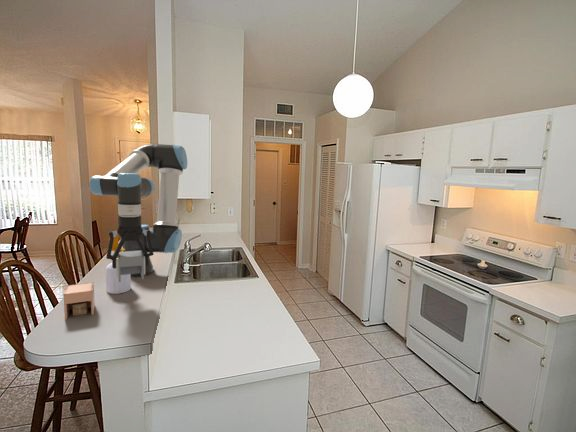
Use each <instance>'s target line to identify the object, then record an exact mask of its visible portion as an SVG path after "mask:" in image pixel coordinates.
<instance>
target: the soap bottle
mask: <svg viewBox="0 0 576 432" xmlns="http://www.w3.org/2000/svg"><path fill="white" fill-rule="evenodd" d="M119 237H120V236H119V234H116V237H114V241H113V246H112V251H111V252H113V253H114V252H115V250H116V248H117V246H118V244H119ZM109 240H110V236H109V235H108V241H109ZM124 250H125V249H124V248H123V247H122V248H121V250H120V252H123V251H124ZM117 258H118V256H117ZM131 280H132V279H131V274H127V275H121V282H119V278H116V268H114V269H113V267H112V262H111V263H109V264H108V265H107V266H106V268H105V288H106V289H105V291H106V293H108V294H110V295H111V294H112V295H116V294H117V295H119V294H124V293H126V292H129V291H130V290H131V287H132V283H131Z"/></svg>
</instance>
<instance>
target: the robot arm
mask: <svg viewBox="0 0 576 432" xmlns="http://www.w3.org/2000/svg"><path fill="white" fill-rule="evenodd" d="M147 168H157V171H158V172H159V173H160V180H159V183H160V184H159V196H158V205H157V219H156V221H155V222H154V223H153V224H152V227H150V225H149V224H142V216H141V215H142V198H147V197H149V196H151V195H152V194H153V193H154V191H155V184H154V182H153V181H152V180H151V179H149V178H148V177H142V176H141V175H140V172H141V171H142V170H145V169H147ZM187 168H188V155H187V152H186V149H185V147H183V146H182V145H177V144H160V143H158V144H157V143H149V144H145V145H141V146H140V147H137V148H134V149H133V150H132V151H131V152H130V153H129V154H128V157H126V158H125V159H124V160H123V161H122V162H120V163H119V164H117V165H116V166H114V167H113V168H111V170H109V171H108V172H107V173H106V174H104V175H93V176H91V178H90V179H89V181H88V186H89V191H90V192H91V193H92V194H93V195H94V196H95V195H96V196H103V197H104V196H105V197H106V196H111V197H117V209H118V210H117V213H118V217H117V219H118V220H117V221H118V222H117V223H118V227H117V230H114V231H113V230H109V231H108V237H109V236H110V240H109V239H108V245H107V251H106V260H111V263H112V267H113V269H114V268H116V278H119V272H118V258H117V256H118V254H119V252H120V250H121V248H124V249H125V250H124V251H122V252H125V251H140V250H142V252H143V255H144V276H146V275H149V274H152V273H153V272H154V266H153V265H154V264H153V263H152V260H151V256H154V253H163V254H164V253H165V254H169V253H175V252H177V251H178V250H179V248H180V246H181V242H182V236H183V235H182V234H183V233H182V230H181V229H179V225H178V223H176V220H177V209H178V208H177V206H178V196H179V186H180V185H179V183H180V176H181V175H183V173H184V170H186V169H187ZM116 234H119V236H118V237H120V239H119V241H118V246H117V248H116V250H115V252H114V251H112V246H113V241H114V237H116ZM112 252H113V254H112ZM131 277H132V278H133V277H134V278H135V277H136V278H137V277H141V273H137V274H131Z"/></svg>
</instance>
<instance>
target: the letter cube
mask: <svg viewBox="0 0 576 432" xmlns="http://www.w3.org/2000/svg"><path fill="white" fill-rule="evenodd" d="M72 306H73V309H72V316H80V315H85V314H88V311H89V310H88V309H89V307H88V306H87V301H85V302H78V303H73V305H72Z"/></svg>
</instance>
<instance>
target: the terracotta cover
mask: <svg viewBox="0 0 576 432" xmlns="http://www.w3.org/2000/svg"><path fill="white" fill-rule="evenodd" d="M94 283H95V282H87V283H76V284H68V285H66V286H65V290H64V291H63V310H64V320H68V317H69V313H70V310H72V311H73V306H72V305H73V303H78V302H85V301H87V306H88V308H90V309H91V316H94V314H95V308H96V307H95V306H96V305H95V284H94Z"/></svg>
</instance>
